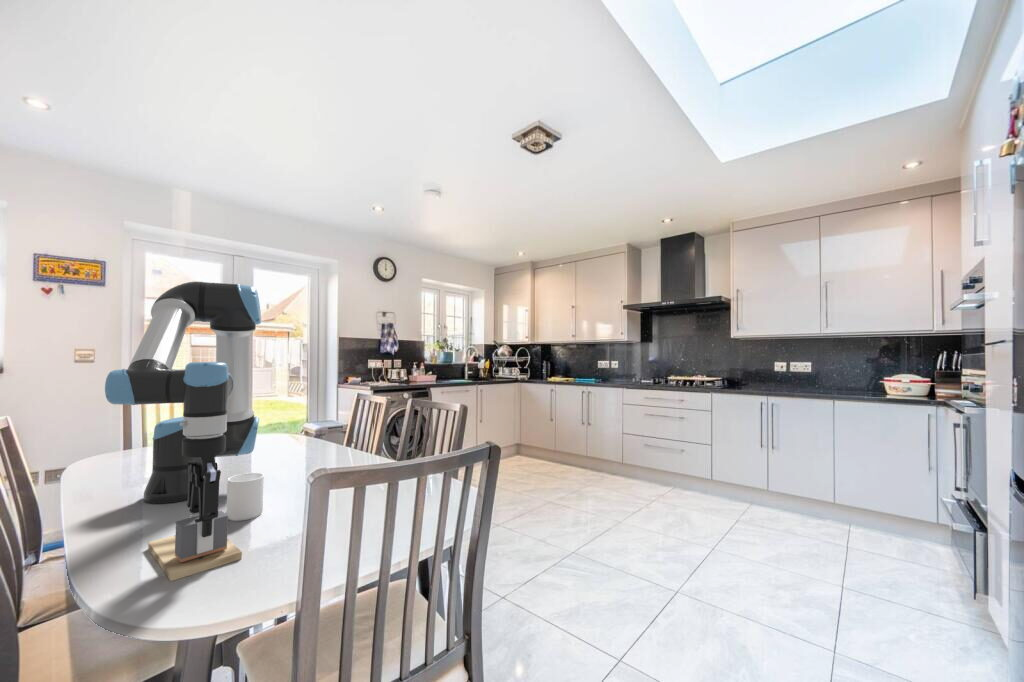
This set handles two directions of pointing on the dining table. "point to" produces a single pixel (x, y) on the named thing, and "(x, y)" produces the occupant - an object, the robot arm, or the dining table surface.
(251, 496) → the cup
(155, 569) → the dining table surface
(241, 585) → the dining table surface
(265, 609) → the dining table surface
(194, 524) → the block
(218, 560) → the board
